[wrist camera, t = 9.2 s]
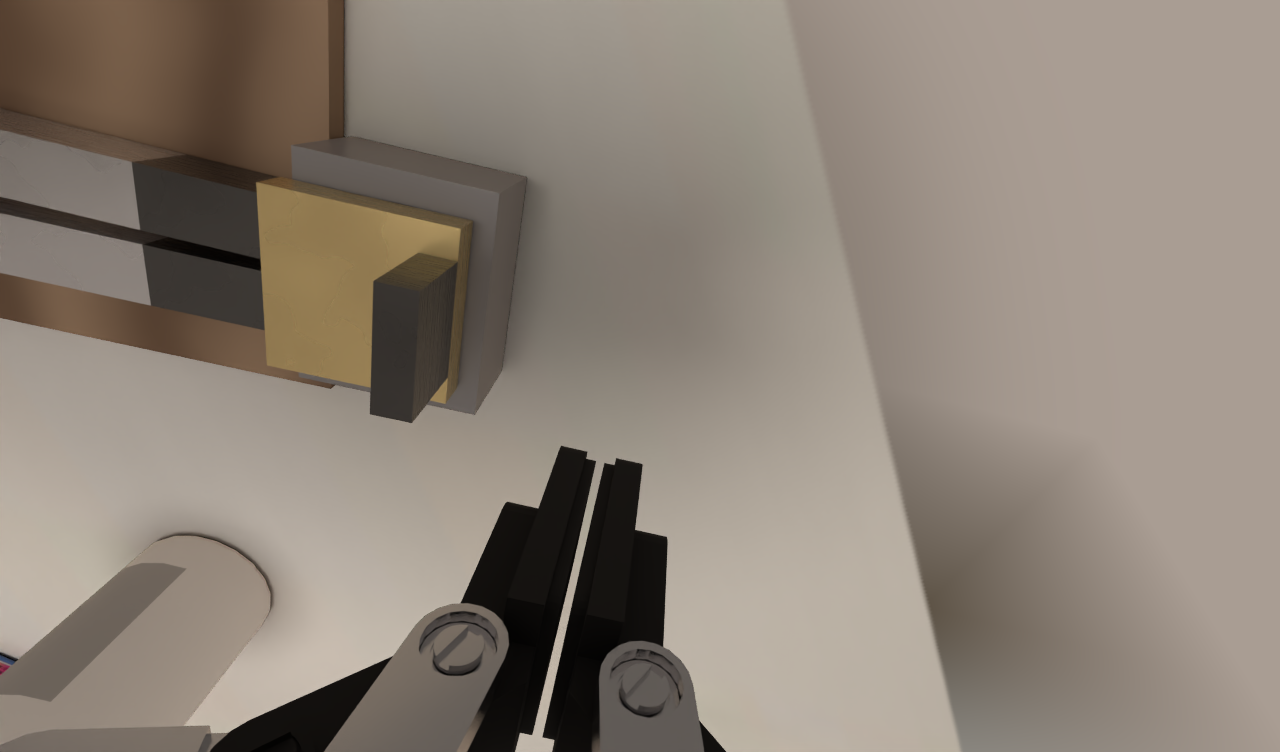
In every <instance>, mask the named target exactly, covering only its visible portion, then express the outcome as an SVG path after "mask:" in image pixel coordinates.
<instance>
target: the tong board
mask: <svg viewBox="0 0 1280 752" xmlns="http://www.w3.org/2000/svg"><path fill="white" fill-rule="evenodd" d="M0 108H1V109H5V110H9V111H13V112H17V113H21V114H25V115H29V116H33V117H37V118H41V119H45V120H49V121H53V122H57V123H61V124H65V125H70V126H74V127H78V128H82V129H86V130H90V131H94V132H98V133H102V134H106V135H110V136H114V137H118V138H122V139H126V140H130V141H134V142H138V143H142V144H146V145H150V146H154V147H158V148H162V149H167V150H171V151H175V152H179V153H183V154H187V155H191V156H195V157H199V158H203V159H207V160H211V161H215V162H219V163H223V164H227V165H231V166H235V167H239V168H243V169H247V170H251V171H255V172H260V173H264V174H268V175H272V176H276V177H284V178H288V179H292V157H291V145H294V144H301V143H308V142H315V141H322V140H329V139H336V138H343V137H344V0H0ZM0 318H3V319H8V320H13V321H17V322H22V323H27V324H31V325H36V326H41V327H45V328H50V329H55V330H59V331H64V332H69V333H73V334H78V335H83V336H87V337H92V338H97V339H101V340H106V341H111V342H115V343H120V344H125V345H129V346H134V347H139V348H143V349H148V350H153V351H157V352H162V353H167V354H171V355H176V356H181V357H185V358H190V359H195V360H199V361H204V362H209V363H213V364H218V365H223V366H227V367H232V368H237V369H241V370H246V371H251V372H255V373H260V374H265V375H269V376H274V377H279V378H283V379H288V380H293V381H297V382H302V383H307V384H311V385H316V386H321V387H325V388H330V389H331V388H332V387H334V386H335V385H334V384H329V383H325V382H320V381H315V380H311V379H306V378H301V377H299V372H295V371H291V370H286V369H281V368H277V367H272V366H267V359H266V342H265V330H261V329H256V328H251V327H247V326H242V325H238V324H233V323H228V322H224V321H219V320H215V319H210V318H206V317H201V316H196V315H192V314H187V313H183V312H178V311H173V310H169V309H164V308H160V307H155V306H150V305H146V304H141V303H137V302H132V301H127V300H123V299H118V298H114V297H109V296H104V295H100V294H95V293H91V292H86V291H81V290H77V289H72V288H68V287H63V286H59V285H54V284H49V283H45V282H40V281H36V280H31V279H26V278H22V277H17V276H13V275H8V274H3V273H0Z"/></svg>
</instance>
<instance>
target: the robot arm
mask: <svg viewBox="0 0 1280 752" xmlns="http://www.w3.org/2000/svg"><path fill="white" fill-rule="evenodd" d="M586 457H587V452H586V451H582V450H577V449H573V448H568V447H564V446H561V447H560V450H559V452H558V455H557V458H556V461H555V464H554V466H553V469H552V472H551V475H550V478H549V480H548V483H547V486H546V489H545V492H544V495H543V497H542V500H541V503H540V506H539V509H538V508H533V507H529V506H524V505H519V504H515V503H510V502H506V503H505V505H504V507H503V509H502V511H501V513H500V515H499V518H498V520H497V522H496V524H495V527H494V529H493V531H492V534H491V536H490V538H489V540H488V543H487V545H486V547H485V549H484V552H483V554H482V556H481V558H480V561H479V563H478V565H477V567H476V570H475V572H474V574H473V577H472V579H471V581H470V583H469V586H468V588H467V590H466V592H465V595H464V597H463V599H462V601H461V604H450V605H447V606H443V607H440V608H437V609H435V610H434V611H432V612H430V613H429V614H427V615H425V616H424V617H423V618H422V619H421V620H420V621H419V622H418V623H417V624H416V625H415V627H414V628H413V629H412V631H411V632H410V633H409V635H408V636H407V638H406V639H405V640H404V642H403V643H402V644H401V646H400V647H399V649H398V650H397V651H396V653H395V654H394V656H392V657H390V658H388V659H386V660H383V661H381V662H379V663H377V664H374V665H372V666H370V667H368V668H366V669H363V670H361V671H359V672H357V673H354V674H352V675H350V676H348V677H345V678H343V679H341V680H339V681H336V682H334V683H332V684H330V685H327V686H325V687H323V688H321V689H318V690H316V691H314V692H312V693H309V694H307V695H305V696H303V697H300V698H298V699H296V700H294V701H292V702H289V703H287V704H285V705H283V706H280V707H278V708H276V709H274V710H271V711H269V712H267V713H265V714H262V715H260V716H258V717H256V718H253V719H251V720H249V721H247V722H246V723H244V724H242V725H240V726H239V727H237V728H235V729H234V730H232V731H230V732H229V733H211V730H210V726H173V727H134V728H95V729H56V730H47V731H41V732H35V733H29V734H26V735H23V736H21V737H18V738H16V739H13V740H11V741H9V742H6V743H4V744H1V745H0V752H515V750H516V746H517V742H518V738H519V734H520V733H524V734H529V735H532V734H533V730H534V725H535V721H536V717H537V713H538V709H539V705H540V701H541V696H542V692H543V688H544V684H545V680H546V676H547V671H548V667H549V663H550V659H551V655H552V651H553V646H554V642H555V638H556V634H557V630H558V626H559V622H560V617H561V613H562V609H563V605H564V601H565V597H566V592H567V588H568V584H569V580H570V576H571V571H572V567H573V563H574V558H575V554H576V549H577V545H578V540H579V536H580V531H581V527H582V522H583V518H584V513H585V509H586V504H587V500H588V495H589V491H590V486H591V482H592V477H593V473H594V468H595V464H596V461H593V460H589V459H586ZM641 475H642V464H640V463H635V462H631V461H626V460H622V459H617V458H616V462H615V465H611V464H607V463H604V467H603V472H602V476H601V480H600V485H599V489H598V493H597V498H596V502H595V506H594V511H593V515H592V520H591V524H590V528H589V533H588V537H587V541H586V546H585V550H584V554H583V559H582V563H581V567H580V572H579V576H578V581H577V585H576V590H575V594H574V598H573V603H572V607H571V612H570V616H569V621H568V625H567V630H566V634H565V639H564V643H563V648H562V652H561V657H560V661H559V665H558V670H557V674H556V679H555V683H554V688H553V692H552V697H551V701H550V706H549V710H548V715H547V719H546V724H545V728H544V733H543V737H544V738H548V739H553V740H555V741H554V746H553V751H552V752H726V751H725V750H724V749H723V748H722V746H721V745H720V744H719V743H718V742H717V741H716V739H715V738H714V737H713V736H712V735H711V734H710V733H709V731H708V730H707V729H706V728H705V727H704V726H703V724H702V723H701V722H700V721H699V717H698V711H697V705H696V699H695V693H694V687H693V683H692V680H691V677H690V674H689V672H688V670H687V669H686V667H685V666H684V664H683V663H682V661H681V660H680V659H679V658H678V657H677V656H675V655H674V654H673V653H672V652H671V651H670V650H668V649H666V648H664V647H663V638H664V614H665V591H666V568H667V537H665V536H660V535H656V534H651V533H646V532H642V531H637V530H635V525H636V517H637V508H638V500H639V491H640V483H641Z"/></svg>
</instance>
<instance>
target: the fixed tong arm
mask: <svg viewBox="0 0 1280 752" xmlns="http://www.w3.org/2000/svg"><path fill="white" fill-rule="evenodd" d="M0 273H3V274H8V275H13V276H17V277H22V278H26V279H31V280H36V281H40V282H45V283H49V284H54V285H59V286H63V287H68V288H72V289H77V290H81V291H86V292H91V293H95V294H100V295H104V296H109V297H114V298H118V299H123V300H127V301H132V302H137V303H141V304H146V305H150V306H155V307H160V308H164V309H169V310H173V311H178V312H183V313H187V314H192V315H196V316H201V317H206V318H210V319H215V320H219V321H224V322H228V323H233V324H238V325H242V326H247V327H251V328H256V329H261V330H265V325H264V308H263V291H262V273H261V259H258V258H254V257H250V256H246V255H242V254H238V253H233V252H229V251H225V250H221V249H217V248H213V247H208V246H204V245H200V244H196V243H192V242H188V241H183V240H179V239H175V238H171V237H167V236H163V235H158V234H154V233H150V232H146V231H142V230H138V229H133V228H129V227H125V226H121V225H117V224H113V223H108V222H104V221H100V220H96V219H92V218H88V217H83V216H79V215H75V214H71V213H67V212H63V211H58V210H54V209H50V208H46V207H42V206H38V205H33V204H29V203H25V202H21V201H17V200H13V199H8V198H4V197H0Z"/></svg>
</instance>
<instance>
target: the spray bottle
mask: <svg viewBox="0 0 1280 752" xmlns="http://www.w3.org/2000/svg"><path fill="white" fill-rule="evenodd" d="M270 597H271V593H270V590H269V588H268V585H267V583H266V580H265V578H264V577H263V575H262V574H261V573H260V572H259V570H258V569H257V568H256V567H255V566H254V564H253V563H252V562H250V561H249V560H248V559H246V558H245V557H244V556H243V555H241V554H240V553H239V552H237V551H236V550H234V549H232V548H230V547H228V546H226V545H224V544H222V543H220V542H217V541H214V540H210V539H206V538H202V537H198V536H173V537H170V538H167V539H163V540H160V541H157V542H154V543H153V544H151V545H150V546H149V547H148V548H147V549H146V550H144V551H143V552H142V553H141V554H140V555H139V556H137V557H136V558H135V559H134V560H133V561H132V562H130V563H129V564H128V565H127V566H126V567H125V568H124V569H122V570H121V571H120V572H119V573H118V574H117V575H115V576H114V577H113V578H112V579H111V580H110V581H109V582H107V583H106V584H105V585H104V586H103V587H102V588H100V589H99V590H98V591H97V592H96V593H95V594H94V595H92V596H91V597H90V598H89V599H88V600H87V601H85V602H84V603H83V604H82V605H81V606H80V607H79V608H77V609H76V610H75V611H74V612H73V613H72V614H70V615H69V616H68V617H67V618H66V619H65V620H64V621H62V622H61V623H60V624H59V625H58V626H57V627H55V628H54V629H53V630H52V631H51V632H50V633H49V634H47V635H46V636H45V637H44V638H43V639H42V640H40V641H39V642H38V643H37V644H36V645H35V646H34V647H32V648H31V649H30V650H29V651H28V652H27V653H25V654H24V655H23V656H22V657H21V658H20V659H19V660H17V661H16V662H15V663H14V664H13V665H12V666H10V667H9V668H8V669H7V670H6V671H5V672H4V673H2V674H1V675H0V745H1V744H4V743H6V742H9V741H11V740H13V739H16V738H18V737H21V736H23V735H26V734H29V733H35V732H41V731H47V730H56V729H95V728H134V727H173V726H184V725H185V724H186V722H187V721H188V720H189V718H190V717H191V716H192V715H193V713H194V712H195V711H196V709H197V708H198V707H199V706H200V704H201V703H202V702H203V700H204V699H205V698H206V696H207V695H208V694H209V693H210V691H211V690H212V689H213V687H214V686H215V685H216V684H217V682H218V681H219V680H220V678H221V677H222V676H223V675H224V673H225V672H226V671H227V669H228V668H229V667H230V665H231V664H232V663H233V662H234V660H235V659H236V658H237V656H238V655H239V654H240V653H241V651H242V650H243V649H244V647H245V646H246V645H247V643H248V642H249V641H250V640H251V638H252V637H253V636H254V634H255V633H256V632H257V631H258V629H259V628H260V627H261V625H262V624H263V622H264V621H265V619H266V617H267V615H268V613H269V611H270Z"/></svg>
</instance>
